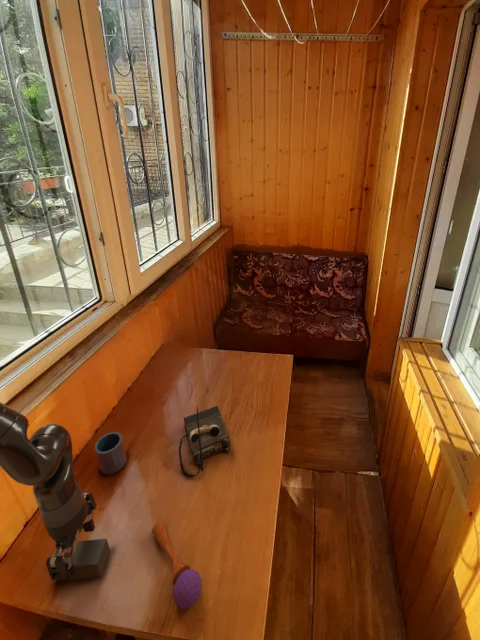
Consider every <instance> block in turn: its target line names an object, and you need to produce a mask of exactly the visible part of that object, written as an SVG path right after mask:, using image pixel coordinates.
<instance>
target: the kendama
mask: <svg viewBox="0 0 480 640" xmlns="http://www.w3.org/2000/svg"><path fill="white" fill-rule="evenodd" d="M151 533H152V535H153V536H154V538H155V540H156V541H157V543H158V544H159V545H160V547H161V548H162V550H163V552H164V553H165V554H166V556H167V558H168V559H169V560H170V562H171V564H172V585H173V586H174V587H173V599H174V602H175V604H176V606H178V607H179V608H180V609H183V610H184V609H185V610H186V609H189V608H191V607H193V606H194V605H195V604H196V603H197V602H198V600H199V598H200V597H201V592H202V588H203V584H202V583H203V582H202V577H201V575H200V573H199V572H198V571H197V570H195V569H193V568H191V566H190V565H189V564H187V563H185V562H183V561H181V560H179V559H178V557H177V555H176V552H175V549H174V546H173V543H172V540H171V537H170V534H169V531H168V528H167V525H166V522H165V520H159V521H157V522H156V523H155V524H154V526H153V527H152V529H151Z"/></svg>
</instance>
